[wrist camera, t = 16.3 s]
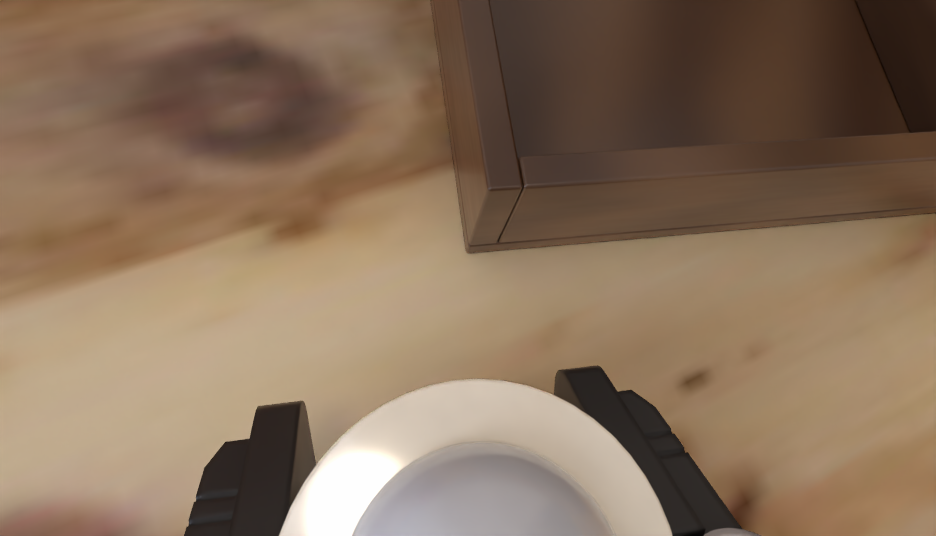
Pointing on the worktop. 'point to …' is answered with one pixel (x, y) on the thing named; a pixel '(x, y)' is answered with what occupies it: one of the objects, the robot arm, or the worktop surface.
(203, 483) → the robot arm
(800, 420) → the worktop surface
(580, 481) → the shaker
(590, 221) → the tray
